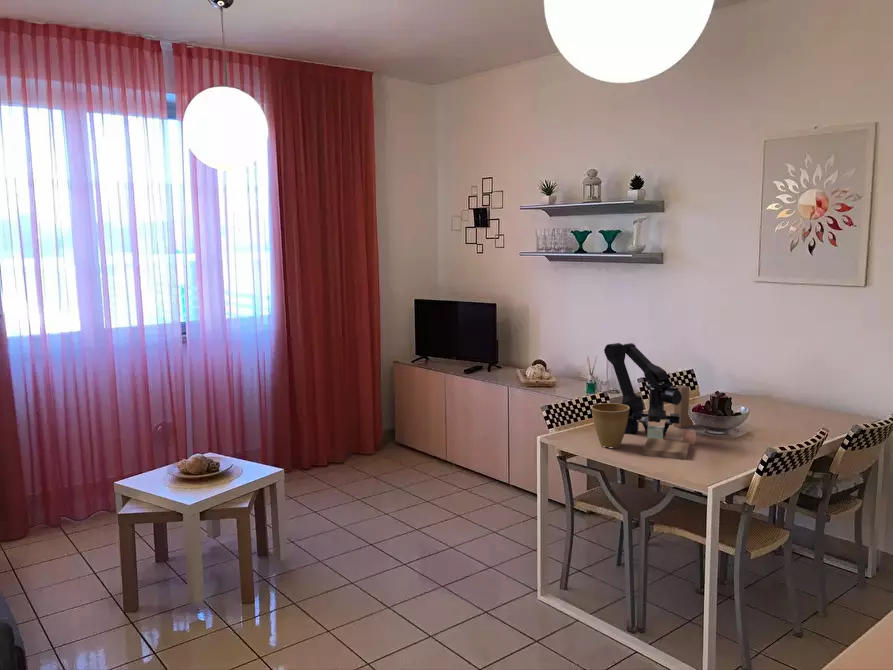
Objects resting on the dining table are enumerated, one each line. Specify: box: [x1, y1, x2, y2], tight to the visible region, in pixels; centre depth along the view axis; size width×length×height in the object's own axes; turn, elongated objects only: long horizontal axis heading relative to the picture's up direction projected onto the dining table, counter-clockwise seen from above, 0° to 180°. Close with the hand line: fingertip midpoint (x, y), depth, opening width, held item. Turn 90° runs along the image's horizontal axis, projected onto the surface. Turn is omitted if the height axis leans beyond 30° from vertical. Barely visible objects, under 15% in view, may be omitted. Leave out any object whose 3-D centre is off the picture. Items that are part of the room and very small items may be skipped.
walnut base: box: [642, 438, 691, 460], centre depth 283 cm, size 16×16×2 cm
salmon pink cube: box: [681, 428, 697, 446], centre depth 294 cm, size 5×5×5 cm
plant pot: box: [590, 402, 630, 449], centre depth 291 cm, size 15×15×16 cm
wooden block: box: [673, 384, 694, 429], centre depth 318 cm, size 9×4×18 cm, turn 119°
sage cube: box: [646, 425, 665, 441], centre depth 299 cm, size 6×6×5 cm
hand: (655, 437), depth 299 cm, fingers closed on sage cube, 6 cm apart
